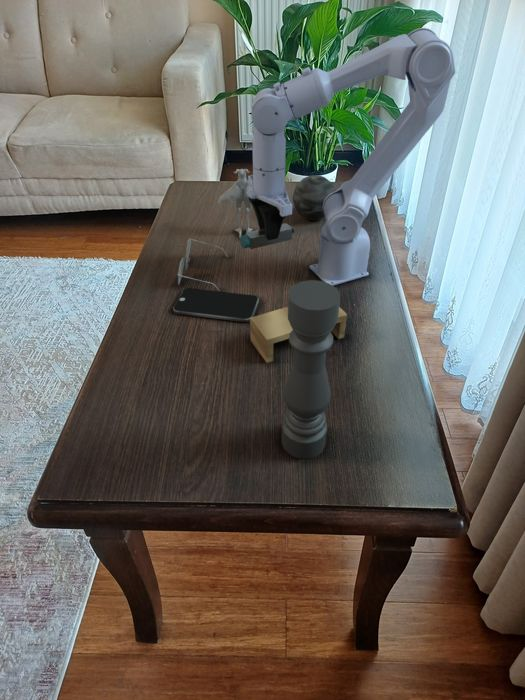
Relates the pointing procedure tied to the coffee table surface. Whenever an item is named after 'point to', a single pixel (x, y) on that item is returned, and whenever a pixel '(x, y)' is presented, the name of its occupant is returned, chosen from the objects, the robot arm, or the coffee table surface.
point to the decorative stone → (312, 196)
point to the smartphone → (216, 305)
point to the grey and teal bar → (260, 239)
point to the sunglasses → (189, 261)
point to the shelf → (281, 330)
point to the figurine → (239, 196)
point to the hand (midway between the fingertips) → (269, 235)
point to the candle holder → (309, 367)
